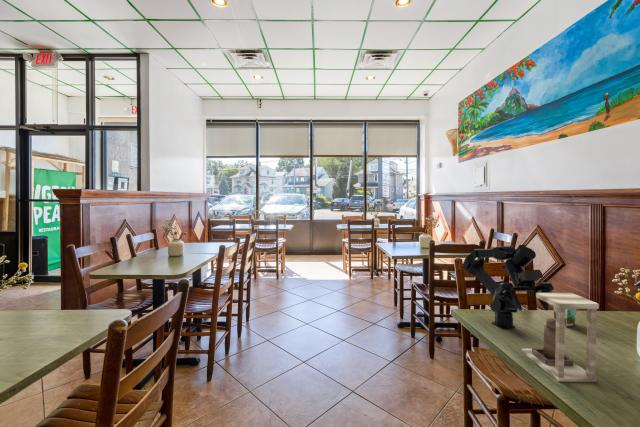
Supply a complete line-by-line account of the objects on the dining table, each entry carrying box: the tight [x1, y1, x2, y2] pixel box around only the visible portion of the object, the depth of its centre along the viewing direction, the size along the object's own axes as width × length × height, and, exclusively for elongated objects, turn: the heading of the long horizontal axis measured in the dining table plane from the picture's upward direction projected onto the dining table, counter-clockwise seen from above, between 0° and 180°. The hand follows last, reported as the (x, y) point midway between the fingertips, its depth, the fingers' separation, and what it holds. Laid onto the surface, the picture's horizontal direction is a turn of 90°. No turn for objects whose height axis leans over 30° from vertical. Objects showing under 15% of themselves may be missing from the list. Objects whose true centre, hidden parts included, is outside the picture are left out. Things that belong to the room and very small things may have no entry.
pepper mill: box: [542, 318, 556, 360], centre depth 102 cm, size 4×4×13 cm
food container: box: [552, 305, 578, 328], centre depth 132 cm, size 12×6×10 cm, turn 168°
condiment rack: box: [521, 292, 600, 383], centre depth 99 cm, size 18×11×24 cm, turn 177°
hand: (534, 310), depth 112 cm, fingers open, 9 cm apart
